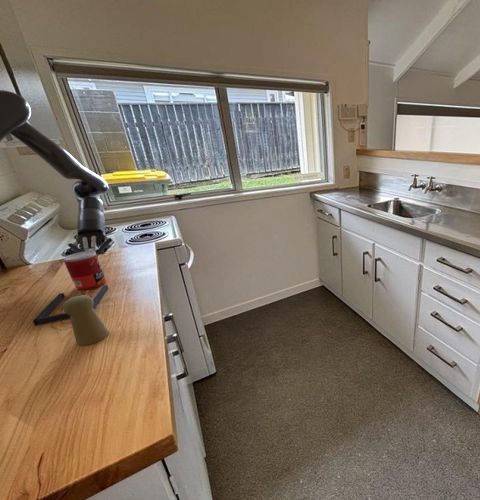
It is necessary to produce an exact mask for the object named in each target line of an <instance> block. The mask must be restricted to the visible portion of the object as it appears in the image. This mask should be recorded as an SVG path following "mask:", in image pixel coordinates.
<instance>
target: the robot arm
mask: <svg viewBox="0 0 480 500" xmlns="http://www.w3.org/2000/svg"><path fill="white" fill-rule="evenodd" d="M31 114H32V109H31V106H30V104H29V102H28V101H27V100H26V99H25V98H24V97H22V96H21V95H19V94H18V93H15V92H12V91H9V90H4V89H0V142H1V141H2V140H3V139H5V138H6V137H7V136H9V135H11V136H13V137H14V138H15V139H17V140H18V141H20V142H21V143H22V144H23V145H25V146H26V147H28V149H30V150H31V151H32V152H34V153H35V154H36V155H37V156H39V158H41V159H42V160H43V161H44V162H46V164H48V165H49V167H51V168H52V169H54V171H56V172H57V173H58V174H59V175H60V176H62V177H63V178H64V179H65V180H76V181H75V182H74V183H73V185H72V187H71V189H72V191H73V195H74V196H75V199H76V201H77V204H78V211H77V212H78V213H77V219H76V220H77V223H76V224H77V225H76V226H77V229H76V230H77V233H76V234H77V237H76V239H75V241H74V242H71V243H70V242H69V243H68V244H67V246H68V247H69V248H70V249H71V250H72V251H74V252H75V253H79V252H84V251H94V252H95V253H96V255H97V257H98V258H99V256H101V255H105V254H106V253H107V252H108V250H109V249H110V248H111V247H112V246H114V244H115V241H114V240H113V238H111V237H108V236H106V218H105V210H104V202H103V200H101V199H100V198H98V196H102V195H105V194H107V193H109V190H110V189H109V185H108V183H107V181H106V180H105V179H104V178H102V177H101V176H100V175H99V174H96V173H95V172H93V171H92V170H90V169H88V168H87V167H85V166H83V164H81V163H80V162H79V161H78V160H77V159H76V158H75V157H74V156H72V154H70V153H69V152H68V151H67V150H66V149H64V147H62V146H60V145H59V144H58V143H56V142H55V141H53V140H52V139H50V138H49V137H47V136H46V135H44V134H43V133H42V132H40V130H38V129H37V128H36V127H35V126H33V124H32V123H30V121H29V119H30V118H31ZM80 246H81V247H82V248H83V249H84V251H83V250H81V249H80Z"/></svg>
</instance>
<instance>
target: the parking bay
mask: <svg viewBox="0 0 480 500" xmlns="http://www.w3.org/2000/svg"><path fill="white" fill-rule="evenodd" d="M109 289H110V288H109V286H108V284H103V285H102V286H101V288H100V289H99V291H98V292H97V293H96V294H95V296H94V298H92V299H93V302H94V306H93V309H94V310H95V309H96V308H97V307H98V305H99V303H100V302H101V301H102V299H103V298H104V296H105V295H106V293H107V292H108V290H109ZM65 298H66V295H65V293H64V292H61V293H58V295H56V296H55V297H54V298H53V299H52V300H51V301H50V302H49V304H48V305H46V307H44V309H43V310H41V312H39V314H38V315H36V317H35V318H34V319H32V323H33V325H34V326H39V325H45V324H48V323H53V322H57V321H62V320H66V319H67V320H68V319H70V315H68V314H66V313H65V312H61V313H56V314H52V315H50V314H51V313H52V312H53V311H54V310H55V309H56V308H57V307H58V306H59V305H60V303H61V302H63V300H64V299H65ZM95 311H96V310H95Z"/></svg>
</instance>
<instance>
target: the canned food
mask: <svg viewBox="0 0 480 500" xmlns="http://www.w3.org/2000/svg"><path fill="white" fill-rule="evenodd" d="M63 263H64V265H65V267H66V269H67V272H68V274H69V276H70V278H71V281H72V282H73V285H74V287H75V288H76V290H77V291H88V290H93V289H96V288H99V287H102V286H103V285H105V284H106V282H107V278H106V276H105V273H104V271H103V270H104V269H103V268H102V265H101V262H100V260H99V256H98V257H97V255H96V253H95V252H94V251H85V250H84V251H83V252H79V253H77V252H75V253H71V254H68V255H66V256H64V257H63Z"/></svg>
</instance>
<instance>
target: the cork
mask: <svg viewBox="0 0 480 500" xmlns="http://www.w3.org/2000/svg"><path fill="white" fill-rule="evenodd" d="M93 299H94V298H92V297H90V296H89V295H87V294H86V295H77V296H74V297H71V298H69V299H67V300H66V301H64V303H63V304H62V310H63V313H66V314H68V315H70V318H69V319H70V323H71V327H72V331H73V335H74V339H75V344H76V346H78V347H86V346H91V345H94V344H96V343H98V342H100V341H102V340H104V339H105V338H106V337H107V336H108V335H110V334H109V333H110V332H109V330H108V328H107V327H106V326H105V324H104V322H103V321H102V319H101V318H100V316H99V314H98V313H97V311H96V310H94V309H93V306H94V302H93Z"/></svg>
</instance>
